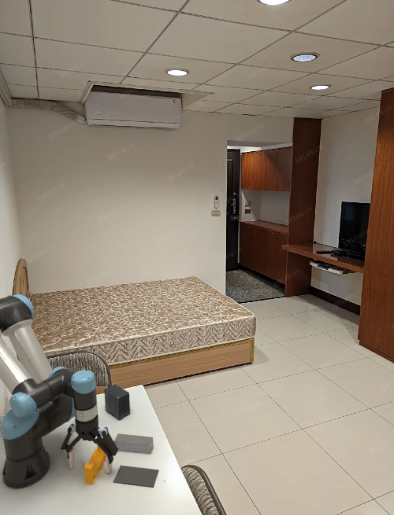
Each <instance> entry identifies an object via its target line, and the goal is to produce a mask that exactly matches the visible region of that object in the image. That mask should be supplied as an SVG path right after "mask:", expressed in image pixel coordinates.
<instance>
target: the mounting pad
mask: <svg viewBox="0 0 394 515" xmlns="http://www.w3.org/2000/svg"><path fill="white" fill-rule="evenodd" d="M159 471H160V469H155V468H147V467H140V466H128V465H122V464H121V465H120V466H119V468H118V470H117V472H116V474H115V475H114V476H115V477H114V479H113V481H112V483H114V484H121V485H128V486H129V485H131V486H137V487H144V488H145V487H146V488H151V489H152V488H153V489H154V487H155V485H156V484H155V483H156V480H157V478H158V474H159Z"/></svg>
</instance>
